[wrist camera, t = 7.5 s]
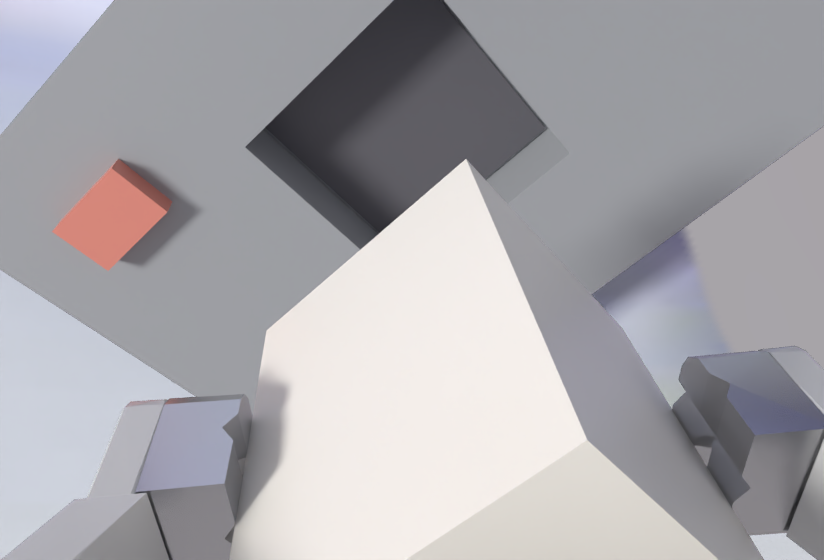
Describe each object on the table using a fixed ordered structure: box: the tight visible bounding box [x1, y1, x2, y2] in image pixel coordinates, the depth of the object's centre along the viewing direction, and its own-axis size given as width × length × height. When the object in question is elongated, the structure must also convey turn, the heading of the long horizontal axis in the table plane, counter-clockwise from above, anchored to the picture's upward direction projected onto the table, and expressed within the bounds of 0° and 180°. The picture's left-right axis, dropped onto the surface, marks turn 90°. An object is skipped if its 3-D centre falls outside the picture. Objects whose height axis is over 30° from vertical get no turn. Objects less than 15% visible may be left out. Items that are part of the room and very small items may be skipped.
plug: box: [229, 159, 764, 560], centre depth 9 cm, size 4×4×8 cm
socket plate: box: [0, 0, 824, 416], centre depth 18 cm, size 20×14×4 cm
